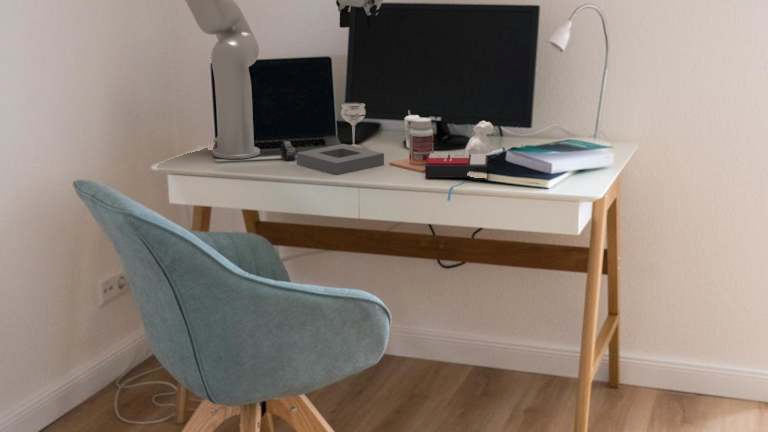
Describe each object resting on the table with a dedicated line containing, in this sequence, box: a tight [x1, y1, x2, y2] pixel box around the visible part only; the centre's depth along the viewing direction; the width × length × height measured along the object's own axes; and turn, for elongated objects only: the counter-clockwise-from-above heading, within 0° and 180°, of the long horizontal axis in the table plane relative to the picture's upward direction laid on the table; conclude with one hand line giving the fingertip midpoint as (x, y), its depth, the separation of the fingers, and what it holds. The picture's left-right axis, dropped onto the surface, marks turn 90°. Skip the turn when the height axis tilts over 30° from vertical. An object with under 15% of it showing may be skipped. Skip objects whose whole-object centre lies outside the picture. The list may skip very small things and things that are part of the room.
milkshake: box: [404, 109, 421, 149], centre depth 268 cm, size 4×5×10 cm
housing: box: [296, 143, 385, 176], centre depth 250 cm, size 16×16×3 cm
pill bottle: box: [408, 117, 434, 165], centre depth 248 cm, size 6×6×11 cm
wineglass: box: [340, 102, 366, 148], centre depth 268 cm, size 7×7×12 cm
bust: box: [464, 120, 494, 155], centre depth 255 cm, size 12×8×11 cm
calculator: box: [424, 152, 489, 181], centre depth 239 cm, size 11×4×15 cm
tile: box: [389, 157, 425, 174], centre depth 249 cm, size 12×12×1 cm
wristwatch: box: [280, 140, 297, 161], centre depth 256 cm, size 3×5×5 cm
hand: (357, 29), depth 247 cm, fingers open, 9 cm apart
